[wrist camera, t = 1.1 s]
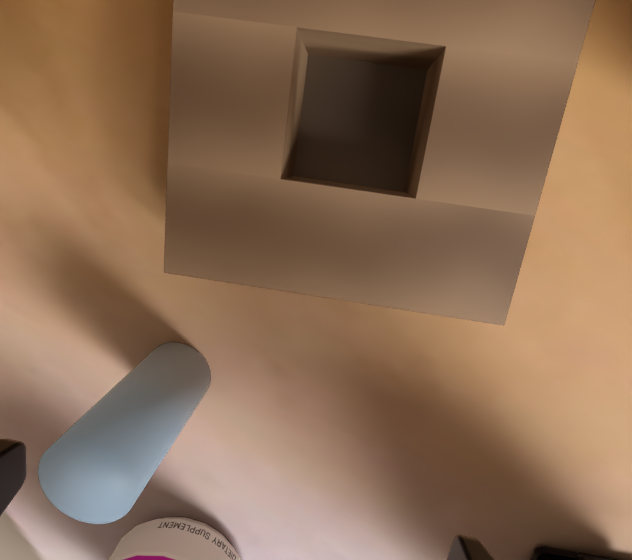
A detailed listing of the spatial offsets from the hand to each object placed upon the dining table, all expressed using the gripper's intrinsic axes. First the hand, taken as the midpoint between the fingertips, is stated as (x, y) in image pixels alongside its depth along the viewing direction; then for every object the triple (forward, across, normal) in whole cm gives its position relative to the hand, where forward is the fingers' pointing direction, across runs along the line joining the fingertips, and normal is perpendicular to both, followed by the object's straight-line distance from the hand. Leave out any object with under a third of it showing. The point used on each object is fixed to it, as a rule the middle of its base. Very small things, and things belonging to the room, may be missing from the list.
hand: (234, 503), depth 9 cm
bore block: (+13, -1, -8) cm, 15 cm away
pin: (+13, +6, +5) cm, 15 cm away
